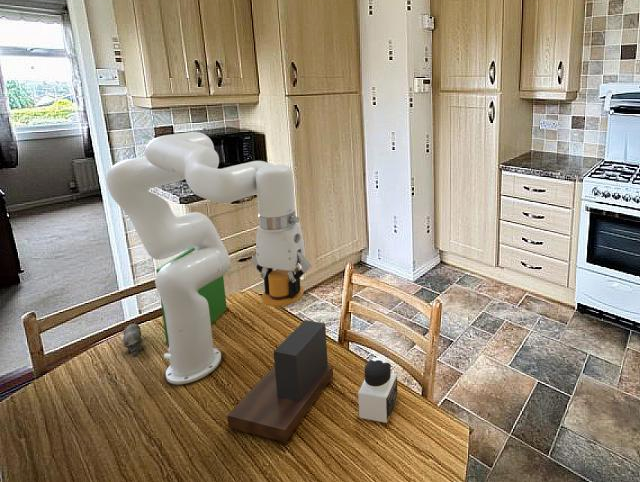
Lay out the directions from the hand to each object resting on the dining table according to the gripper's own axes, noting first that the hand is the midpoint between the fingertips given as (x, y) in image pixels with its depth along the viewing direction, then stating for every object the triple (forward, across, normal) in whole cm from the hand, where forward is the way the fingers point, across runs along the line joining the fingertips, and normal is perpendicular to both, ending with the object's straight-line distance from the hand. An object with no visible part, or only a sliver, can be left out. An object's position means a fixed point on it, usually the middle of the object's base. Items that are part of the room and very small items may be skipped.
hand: (282, 292), depth 87 cm
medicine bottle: (+29, -22, -3) cm, 37 cm away
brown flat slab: (+29, 0, +1) cm, 29 cm away
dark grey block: (+25, -2, -2) cm, 25 cm away
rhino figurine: (+30, +56, -5) cm, 63 cm away
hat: (+1, 0, 0) cm, 1 cm away
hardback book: (+30, +47, -18) cm, 59 cm away
